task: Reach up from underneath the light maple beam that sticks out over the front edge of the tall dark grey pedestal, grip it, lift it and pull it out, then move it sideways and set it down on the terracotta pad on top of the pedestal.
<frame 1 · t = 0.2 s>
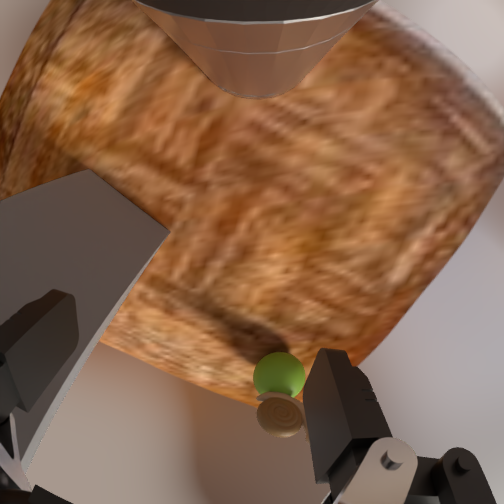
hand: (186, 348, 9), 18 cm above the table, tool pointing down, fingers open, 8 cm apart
snail figurine: (281, 359, 32), on the table
pedestal: (98, 250, 27), on the table
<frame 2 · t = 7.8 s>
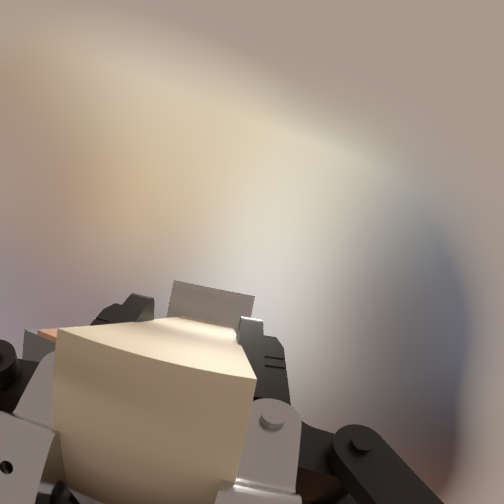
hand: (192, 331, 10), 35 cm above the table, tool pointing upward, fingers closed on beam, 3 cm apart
beam: (192, 384, 13), point 32 cm above the table, touching gripper, pedestal
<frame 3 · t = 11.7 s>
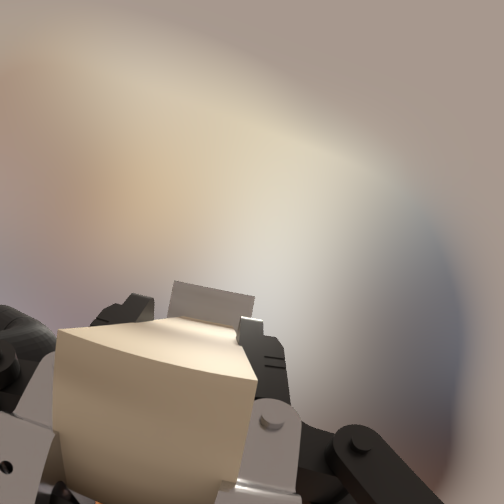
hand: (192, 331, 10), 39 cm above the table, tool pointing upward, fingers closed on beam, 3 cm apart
beam: (192, 384, 13), point 36 cm above the table, touching gripper
when the fingers open (36 cm above the table, at t = 15.4 s): beam stays where it is, resting on pedestal.
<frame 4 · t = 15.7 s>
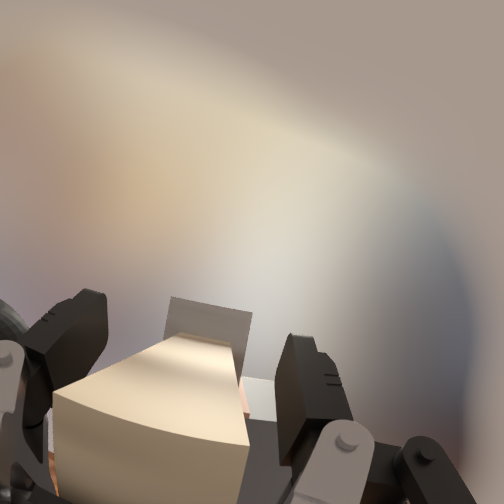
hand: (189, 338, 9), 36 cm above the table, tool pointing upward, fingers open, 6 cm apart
beam: (190, 403, 12), point 32 cm above the table, touching pedestal
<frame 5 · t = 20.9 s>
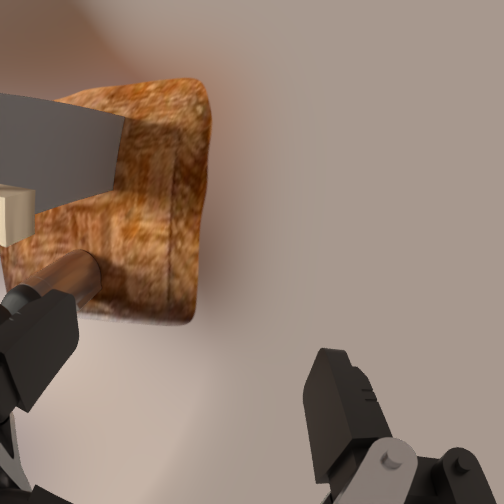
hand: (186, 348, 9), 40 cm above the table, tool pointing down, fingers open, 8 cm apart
pedestal: (94, 150, 45), on the table
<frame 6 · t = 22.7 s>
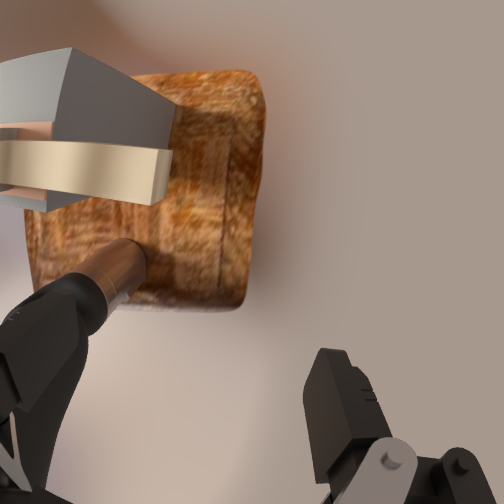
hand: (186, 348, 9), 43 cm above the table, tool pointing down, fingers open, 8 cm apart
pedestal: (143, 137, 47), on the table
beam: (48, 160, 17), point 32 cm above the table, touching pedestal
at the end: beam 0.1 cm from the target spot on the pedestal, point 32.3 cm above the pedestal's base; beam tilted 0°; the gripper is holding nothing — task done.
